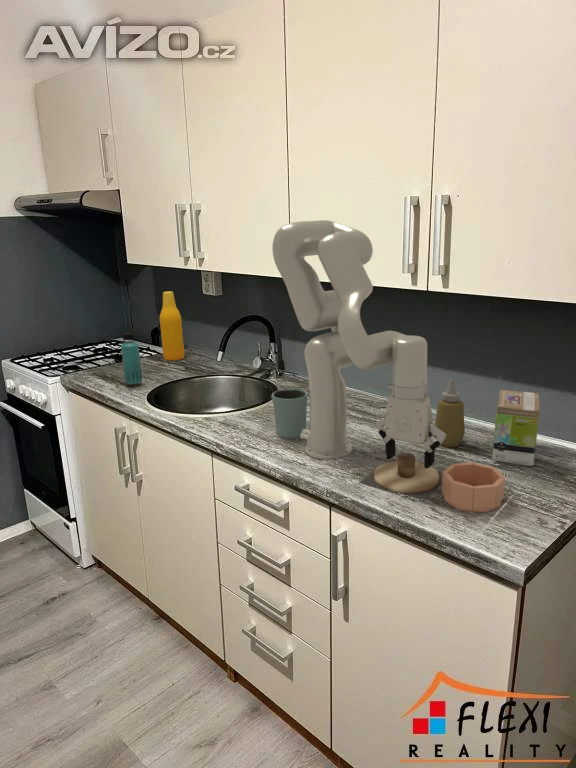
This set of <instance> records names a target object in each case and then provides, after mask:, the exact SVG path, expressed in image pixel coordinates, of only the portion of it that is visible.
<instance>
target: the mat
mask: <svg viewBox="0 0 576 768" xmlns="http://www.w3.org/2000/svg"><path fill="white" fill-rule="evenodd" d="M393 461H398V459H393V458H391V459H390V460H389V461H388V462H393ZM436 471H437V472H438V474H439V483H438V485H437V486H436V487H435V488H434V489H432V490H430V491H427V492H424V493H417V494H404V495H406V496H405V497H404V498H407V497H408V496H409V497H411V496H412V497H413V498H414V497H415V498H417V499H418V498H419V499H420V501H421V499H423V500H424V499H425V500H426V499H427V498H429V496H431V495H432V494H433V493H434V492H435V491H436V490H437V489H438V488H440V487H442V475H443V471H439V470H436ZM359 484H362V485H365V486H369V487H371V488H375V489H377V488H378V489H377V490H382V491H384V490H385V492H387V491H388V492H387V493H390V492H391V494H394V493H395V494H394V495H397V494H398V493H397V492H392V491H389V490H386V489H384V488H382V487H380V486H379V485H378V484H377V483H376V482H375V480H374V471H373V472H372V473H371V474H369V475H368V476H366V477H364V479H362V480H361V481H359ZM377 486H378V487H377ZM400 494H403V493H400ZM400 494H398V495H397V496H400ZM407 495H408V496H407ZM423 500H422V502H424V501H425V500H424V501H423ZM413 501H416V500H415V499H414V500H413ZM420 501H419V502H420Z"/></svg>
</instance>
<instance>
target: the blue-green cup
mask: <svg viewBox="0 0 576 768" xmlns="http://www.w3.org/2000/svg"><path fill="white" fill-rule="evenodd" d="M271 398H272V406H273V412H274V413H273V415H274V417H275V419H274V420H275V422H274V423H275V429H276V430H275V431H276V434H277V436H278V437H279V438H284V439H297V438H298V439H299V438H300V434H301V433H302V430H303V429H307V416H308V415H307V412H308V411H307V410H308V407H307V406H308V392H307V391H306V390H304V389H300V388H282V389H278V390H275V391H274V392H272V394H271Z"/></svg>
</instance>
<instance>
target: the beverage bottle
mask: <svg viewBox="0 0 576 768" xmlns="http://www.w3.org/2000/svg"><path fill="white" fill-rule="evenodd" d="M134 339H135V334H134V332H125V333H122V340H123V341H124V342H122V344H121V345H120V349H121V356H122V366H123V367H122V368H123V377H124V382H125V384H128V385H133V384H134V385H136V384H139V383H142V381H143V374H142V367H141V356H140V350H139V344H138V343H137V342H136V341H134Z"/></svg>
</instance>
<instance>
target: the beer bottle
mask: <svg viewBox="0 0 576 768" xmlns="http://www.w3.org/2000/svg"><path fill="white" fill-rule="evenodd" d="M176 305H177V304H176V300H175V295H174V292H173V291H164V292H162V309H161V311H160V314H159V324H160V325H159V326H160V334H161V335H160V337H161V344H162V345H161V346H162V347H161V348H162V356H163V359H164V360H165V361H170V362H171V361H179V360H183V359H184V358H185V346H184V337H183V336H184V335H183V326H182V325H183V324H182V323H183V321H182V316H181V315H182V314H181V313H180V310H179V309H178V308H177V306H176Z"/></svg>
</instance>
